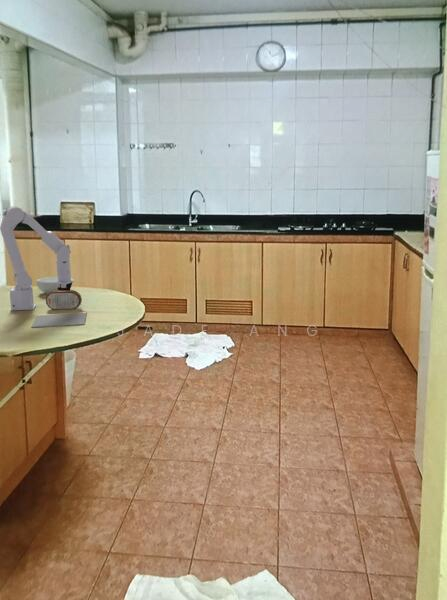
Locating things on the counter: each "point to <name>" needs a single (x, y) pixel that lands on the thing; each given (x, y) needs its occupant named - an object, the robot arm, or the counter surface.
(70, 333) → the counter surface
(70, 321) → the mat
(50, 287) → the cereal bowl
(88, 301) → the counter surface
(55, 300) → the tin
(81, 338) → the counter surface
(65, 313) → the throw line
